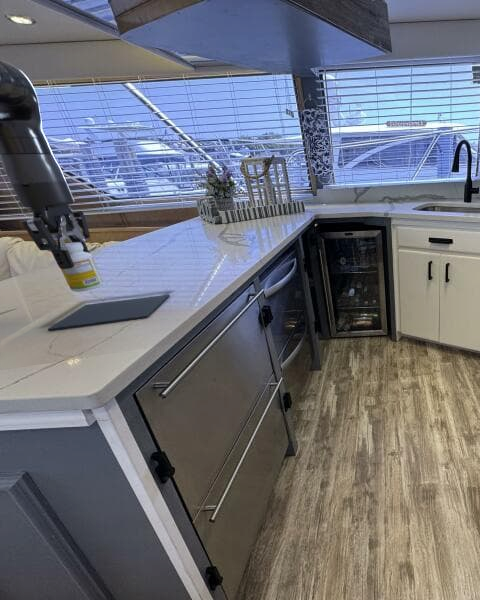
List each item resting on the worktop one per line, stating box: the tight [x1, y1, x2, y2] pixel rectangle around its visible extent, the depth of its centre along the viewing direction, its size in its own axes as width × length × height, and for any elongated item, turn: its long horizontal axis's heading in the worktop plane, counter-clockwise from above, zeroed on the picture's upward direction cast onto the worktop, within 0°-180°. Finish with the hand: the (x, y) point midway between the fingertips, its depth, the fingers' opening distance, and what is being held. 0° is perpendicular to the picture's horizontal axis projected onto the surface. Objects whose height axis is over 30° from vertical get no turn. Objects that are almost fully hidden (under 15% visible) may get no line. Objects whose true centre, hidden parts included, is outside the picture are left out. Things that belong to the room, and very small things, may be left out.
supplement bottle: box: [60, 242, 104, 293], centre depth 69 cm, size 5×5×10 cm
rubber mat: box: [47, 294, 170, 332], centre depth 74 cm, size 18×13×1 cm
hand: (76, 263), depth 69 cm, fingers closed on supplement bottle, 5 cm apart
